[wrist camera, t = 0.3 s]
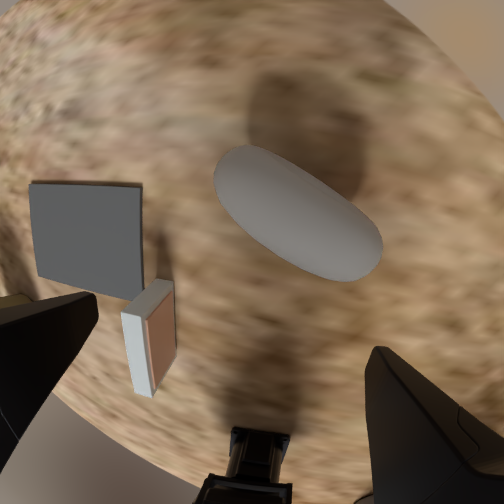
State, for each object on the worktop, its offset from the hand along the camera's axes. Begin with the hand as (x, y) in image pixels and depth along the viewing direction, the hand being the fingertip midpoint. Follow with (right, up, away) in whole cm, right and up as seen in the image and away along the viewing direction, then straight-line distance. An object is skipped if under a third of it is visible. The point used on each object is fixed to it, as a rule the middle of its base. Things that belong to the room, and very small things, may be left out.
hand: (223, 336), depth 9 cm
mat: (-15, +4, +16) cm, 22 cm away
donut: (+4, +6, +12) cm, 14 cm away
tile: (-7, -4, +17) cm, 19 cm away
